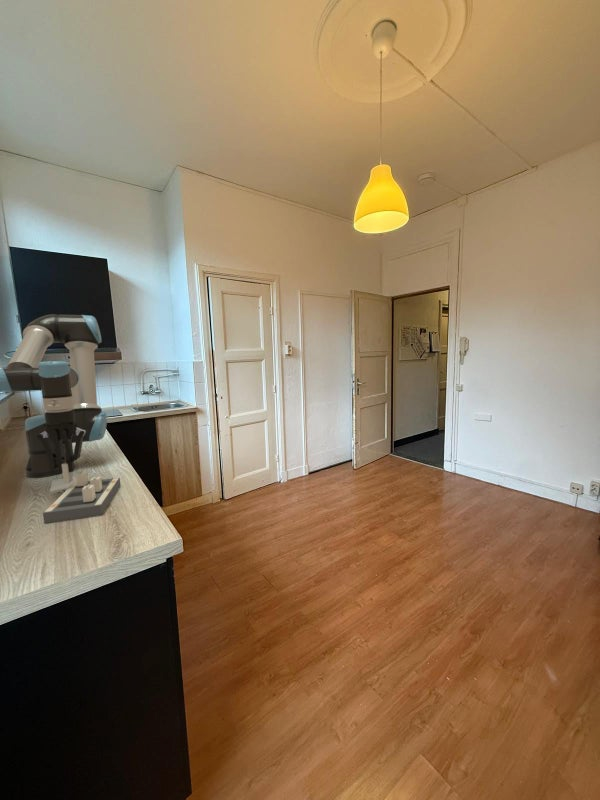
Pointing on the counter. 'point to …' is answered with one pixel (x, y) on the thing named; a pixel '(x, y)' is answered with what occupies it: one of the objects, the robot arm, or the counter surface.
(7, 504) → the counter surface
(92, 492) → the tab
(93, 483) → the tab
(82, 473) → the tab
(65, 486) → the hard drive
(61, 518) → the switch panel
